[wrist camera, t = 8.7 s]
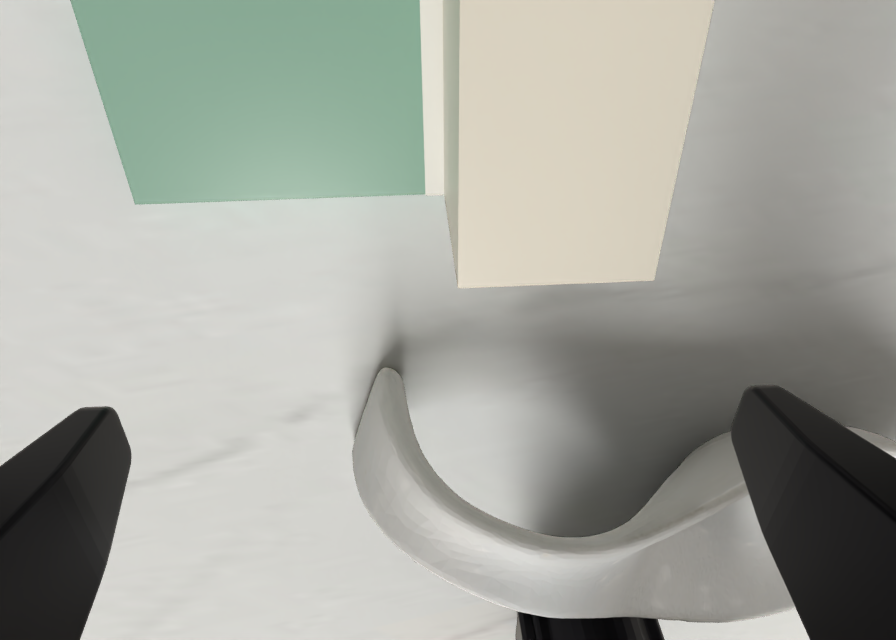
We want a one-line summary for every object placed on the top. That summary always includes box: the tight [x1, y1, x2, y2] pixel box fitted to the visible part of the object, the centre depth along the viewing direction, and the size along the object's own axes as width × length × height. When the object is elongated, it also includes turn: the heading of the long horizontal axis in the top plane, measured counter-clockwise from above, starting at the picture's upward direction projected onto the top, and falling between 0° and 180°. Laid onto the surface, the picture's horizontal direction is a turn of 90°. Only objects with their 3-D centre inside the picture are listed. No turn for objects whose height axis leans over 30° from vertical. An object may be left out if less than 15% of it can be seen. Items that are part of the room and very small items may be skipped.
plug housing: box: [443, 0, 715, 288], centre depth 14 cm, size 4×8×5 cm, turn 0°
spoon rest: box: [352, 368, 896, 623], centre depth 25 cm, size 24×12×7 cm, turn 73°
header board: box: [70, 0, 444, 205], centre depth 15 cm, size 14×8×5 cm, turn 90°
